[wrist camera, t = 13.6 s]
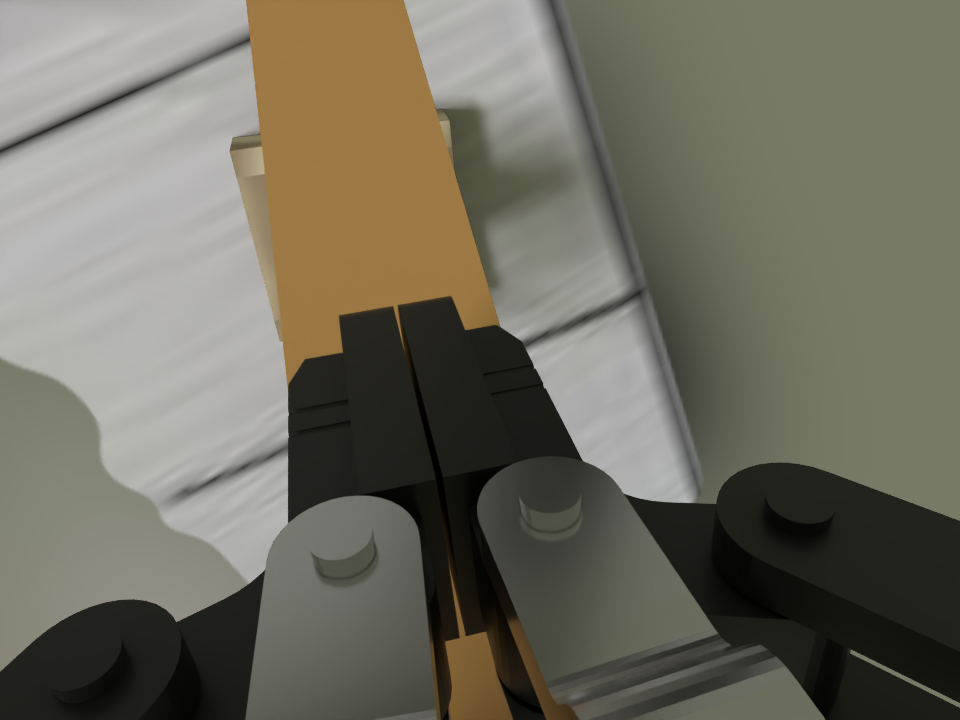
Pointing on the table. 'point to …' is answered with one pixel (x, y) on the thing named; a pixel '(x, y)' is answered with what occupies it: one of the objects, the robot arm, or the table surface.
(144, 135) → the table surface
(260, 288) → the table surface
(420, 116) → the tan wooden bar
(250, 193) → the clamp rig
